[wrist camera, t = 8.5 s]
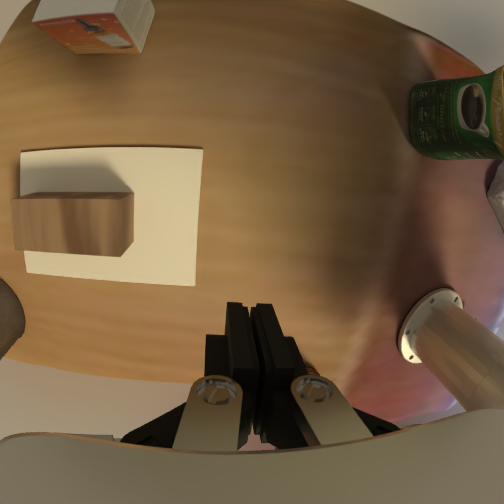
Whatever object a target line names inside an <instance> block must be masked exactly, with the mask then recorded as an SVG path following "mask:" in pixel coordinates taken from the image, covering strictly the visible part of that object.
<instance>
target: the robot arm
mask: <svg viewBox="0 0 504 504" xmlns="http://www.w3.org/2000/svg"><path fill="white" fill-rule="evenodd" d="M398 347H399V351H400V353H401V355H402V356H403V357H404V358H405V359H406V360H407V361H408V362H411V363H421V362H422V363H423V364H424V365H425V366H426V367H427V368H428V369H429V370H430V371H431V372H432V373H433V375H434V376H435V377H436V378H437V379H438V380H439V381H440V382H441V383H442V384H443V386H444V387H445V388H446V389H447V390H448V391H449V392H450V393H451V395H452V396H453V397H454V398H455V399H456V400H457V401H458V402H459V404H460V405H461V406H462V407H463V408H464V409H465V410H466V412H463V413H459V414H456V415H452V416H449V417H446V418H442V419H439V420H435V421H432V422H429V423H425V424H417V425H416V424H415V425H402V426H401V427H400V428H398V427H397V426H396V425H394V424H392V423H390V422H387V421H385V420H382V419H380V418H377V417H375V416H372V415H370V414H368V413H365V412H363V411H360V410H358V409H356V408H353V407H351V405H350V404H349V403H348V401H347V400H346V399H345V397H344V396H343V395H342V393H341V392H340V391H339V389H338V388H337V386H336V385H335V384H334V383H333V382H332V381H330V380H329V379H327V378H325V377H322V376H318V375H309V373H308V371H307V369H306V366H305V364H304V361H303V359H302V357H301V354H300V352H299V349H298V347H297V345H296V342H295V340H294V338H293V337H284V335H283V333H282V330H281V327H280V325H279V322H278V319H277V316H276V314H275V311H274V308H273V306H272V304H261V303H257V305H256V307H251V312H250V317H249V312H248V307H243V306H242V303H237V302H227V310H226V324H225V335H210V334H206V347H205V373H204V377H202V378H200V379H198V380H197V381H195V382H194V383H193V385H192V387H191V390H190V393H189V396H188V399H187V402H185V403H183V404H182V405H180V406H178V407H176V408H174V409H173V410H171V411H169V412H167V413H165V414H164V415H162V416H160V417H158V418H156V419H154V420H152V421H151V422H149V423H147V424H145V425H143V426H141V427H139V428H137V429H135V430H133V431H131V432H129V433H128V434H126V435H125V436H124V437H123V438H121V439H120V438H115V439H114V438H113V435H86V434H67V433H50V432H30V433H19V434H14V435H10V436H8V437H5V438H4V439H2V440H0V504H504V341H503V340H502V339H500V338H499V337H498V336H497V335H495V334H494V333H493V332H491V331H490V330H489V329H488V328H486V327H485V326H484V325H482V324H481V323H480V322H478V320H477V319H475V318H473V317H472V316H470V315H469V314H467V313H466V312H465V311H463V304H462V300H461V298H460V296H459V295H458V294H457V293H456V292H455V291H453V290H451V289H448V288H440V289H436V290H434V291H432V292H430V293H428V294H427V295H425V296H424V297H423V298H422V299H421V300H419V301H418V302H417V303H416V305H415V306H414V307H413V308H412V309H411V311H410V312H409V314H408V315H407V317H406V319H405V320H404V322H403V324H402V327H401V330H400V333H399V338H398ZM252 423H253V429H254V434H255V435H260V439H261V443H270V444H272V445H273V446H275V450H261V451H237V450H238V449H240V448H241V447H242V446H243V445H245V444H246V443H247V440H248V435H250V433H251V427H252Z"/></svg>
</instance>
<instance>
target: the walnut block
mask: <svg viewBox="0 0 504 504" xmlns="http://www.w3.org/2000/svg"><path fill="white" fill-rule="evenodd" d="M11 206H12V223H13V235H14V245H15V250H23V251H37V252H50V253H64V254H79V255H94V256H109V257H121V256H122V255H123V254H124V253H125V251H126V250H127V249H128V248H129V247H130V245H131V244H132V243H133V242H134V193H129V192H35V193H31V194H28V195H24V196H21V197H17V198H14V199H11Z"/></svg>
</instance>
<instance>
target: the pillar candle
mask: <svg viewBox="0 0 504 504" xmlns="http://www.w3.org/2000/svg"><path fill="white" fill-rule="evenodd" d="M24 330H25V315H24V311H23V308H22V306H21V304H20V301H19V299H18V297H17V296H16V294H15V293H14V292H13V290H12V289H11V288H10V287H9V286H8V285H7V284H6V283H5V282H3V281H2V280H0V360H1V359H2V357H3V356H4V355H5V354H6V353H7V351H8V350H9V349H10V348H11V346H12V345H14V343H15V342H16V340H17V339H18V338H20V337H21V336H22V335H23V333H24Z"/></svg>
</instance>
